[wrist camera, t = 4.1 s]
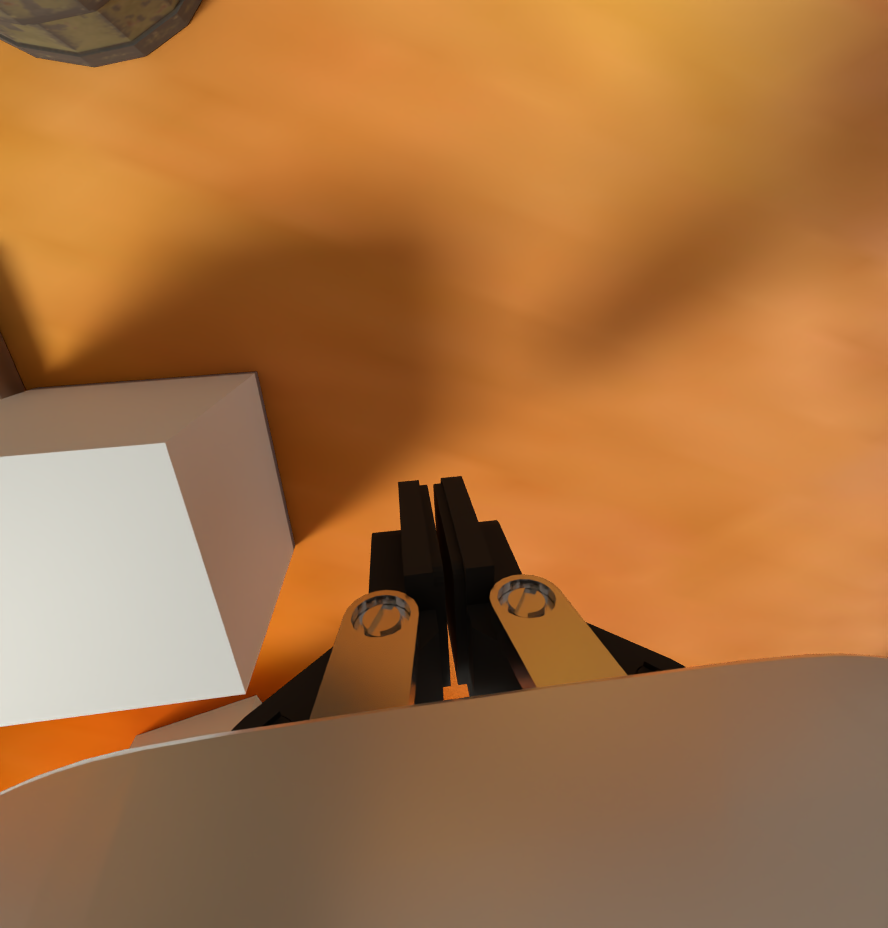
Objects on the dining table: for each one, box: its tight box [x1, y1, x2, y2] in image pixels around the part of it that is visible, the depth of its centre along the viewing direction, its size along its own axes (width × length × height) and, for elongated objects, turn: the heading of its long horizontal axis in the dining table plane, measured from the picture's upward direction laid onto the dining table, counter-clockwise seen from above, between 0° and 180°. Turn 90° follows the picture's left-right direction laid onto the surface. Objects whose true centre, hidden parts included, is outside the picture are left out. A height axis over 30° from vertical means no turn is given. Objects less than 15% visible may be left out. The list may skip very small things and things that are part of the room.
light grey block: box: [0, 371, 295, 727], centre depth 13 cm, size 7×7×7 cm
